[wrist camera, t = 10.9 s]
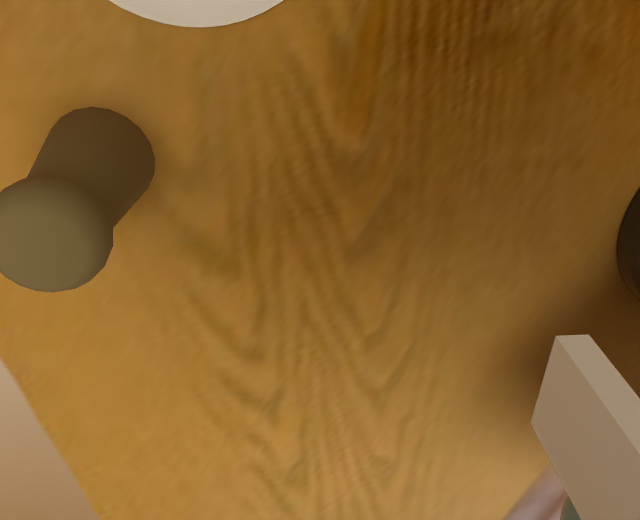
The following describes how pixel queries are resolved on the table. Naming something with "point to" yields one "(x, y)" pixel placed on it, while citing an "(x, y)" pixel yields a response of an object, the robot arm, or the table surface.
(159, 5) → the coaster
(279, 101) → the table surface
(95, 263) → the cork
